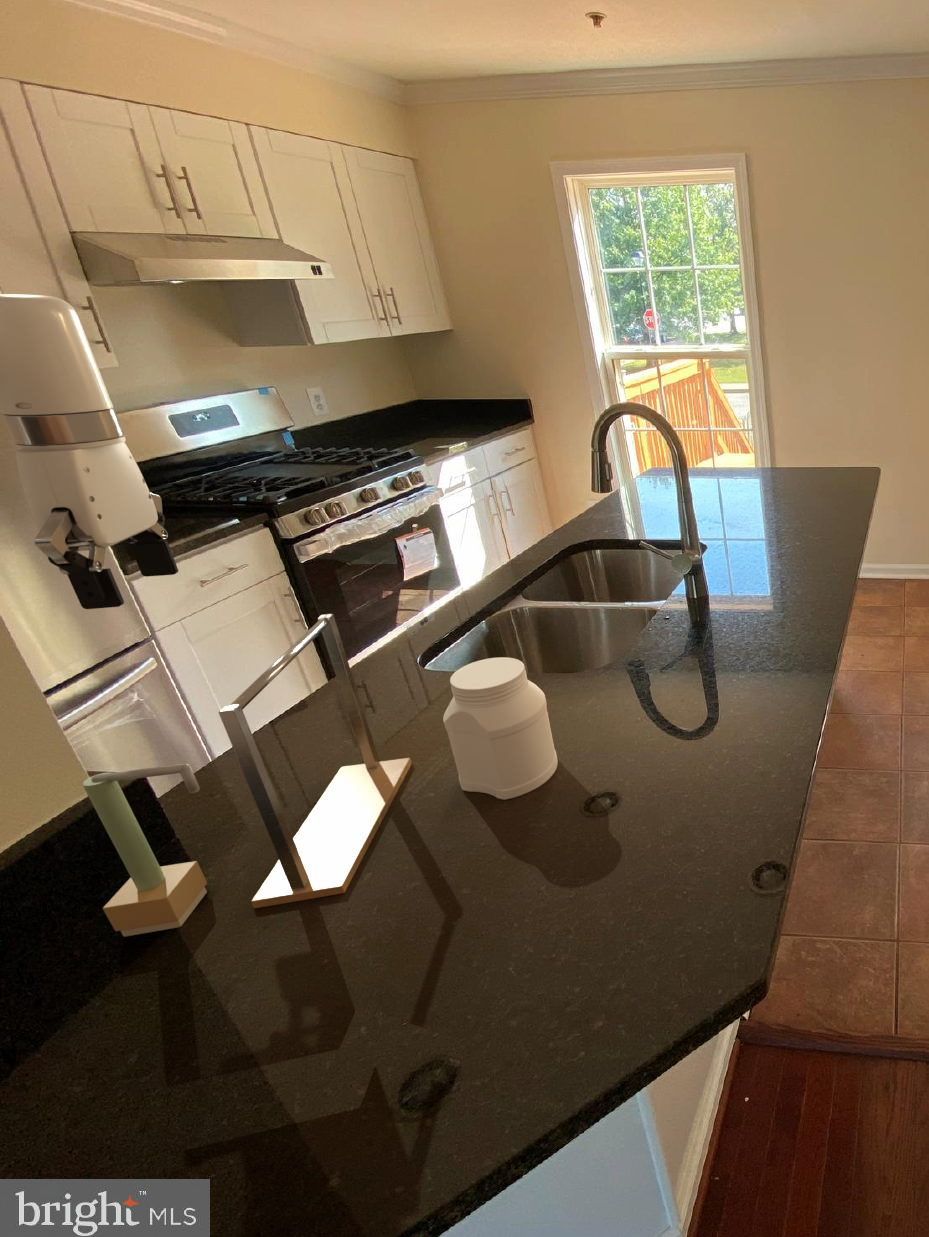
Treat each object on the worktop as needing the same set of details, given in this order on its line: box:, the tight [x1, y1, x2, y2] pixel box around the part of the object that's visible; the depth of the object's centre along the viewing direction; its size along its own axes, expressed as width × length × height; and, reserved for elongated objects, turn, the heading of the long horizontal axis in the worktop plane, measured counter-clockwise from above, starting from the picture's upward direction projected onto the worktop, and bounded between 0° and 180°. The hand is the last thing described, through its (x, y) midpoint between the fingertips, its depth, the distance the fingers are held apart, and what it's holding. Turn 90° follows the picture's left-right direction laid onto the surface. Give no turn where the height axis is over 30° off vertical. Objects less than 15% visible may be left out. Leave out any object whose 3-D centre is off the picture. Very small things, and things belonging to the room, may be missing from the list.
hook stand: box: [81, 763, 208, 937], centre depth 66 cm, size 9×5×17 cm, turn 106°
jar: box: [442, 656, 559, 801], centre depth 88 cm, size 12×10×15 cm
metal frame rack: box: [218, 613, 412, 909], centre depth 77 cm, size 8×23×22 cm, turn 15°
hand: (134, 589), depth 75 cm, fingers open, 9 cm apart
